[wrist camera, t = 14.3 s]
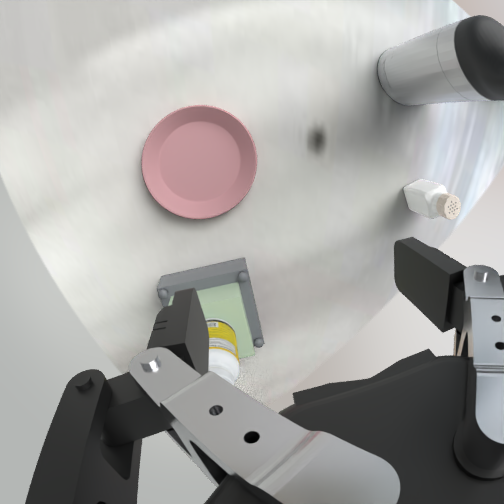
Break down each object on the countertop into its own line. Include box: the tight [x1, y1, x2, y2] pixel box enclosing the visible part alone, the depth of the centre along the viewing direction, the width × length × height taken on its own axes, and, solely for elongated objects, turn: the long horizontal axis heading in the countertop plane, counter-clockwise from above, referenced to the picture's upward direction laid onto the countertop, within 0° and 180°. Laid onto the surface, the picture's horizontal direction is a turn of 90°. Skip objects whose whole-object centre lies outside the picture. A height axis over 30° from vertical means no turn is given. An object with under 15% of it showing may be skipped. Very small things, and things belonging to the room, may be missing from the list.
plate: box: [142, 105, 257, 219], centre depth 38 cm, size 14×14×2 cm
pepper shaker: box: [404, 179, 461, 220], centre depth 38 cm, size 4×4×10 cm
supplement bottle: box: [205, 318, 240, 386], centre depth 33 cm, size 5×5×10 cm
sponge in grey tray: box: [157, 258, 264, 359], centre depth 42 cm, size 12×12×8 cm
